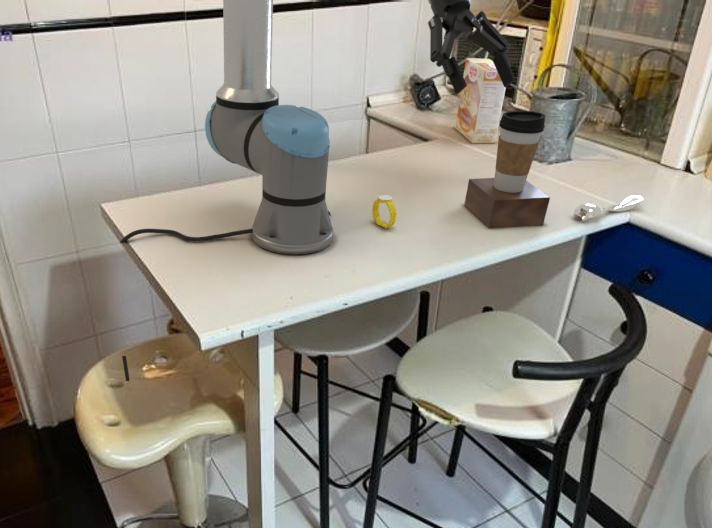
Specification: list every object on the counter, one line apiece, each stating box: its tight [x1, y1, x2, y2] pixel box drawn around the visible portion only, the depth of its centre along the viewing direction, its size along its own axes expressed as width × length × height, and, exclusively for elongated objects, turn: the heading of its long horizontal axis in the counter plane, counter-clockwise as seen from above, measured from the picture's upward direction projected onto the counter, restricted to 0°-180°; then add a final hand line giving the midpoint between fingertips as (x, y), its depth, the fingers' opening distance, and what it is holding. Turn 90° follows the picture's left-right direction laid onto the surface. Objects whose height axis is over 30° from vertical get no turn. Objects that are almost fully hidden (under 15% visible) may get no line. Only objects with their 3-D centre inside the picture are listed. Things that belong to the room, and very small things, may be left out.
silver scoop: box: [573, 195, 645, 222], centre depth 139 cm, size 20×4×5 cm
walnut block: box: [463, 177, 551, 229], centre depth 136 cm, size 12×12×6 cm
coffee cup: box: [493, 110, 546, 193], centre depth 130 cm, size 8×8×15 cm
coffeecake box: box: [454, 57, 507, 144], centre depth 181 cm, size 15×7×20 cm, turn 6°
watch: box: [371, 194, 397, 229], centre depth 129 cm, size 6×3×6 cm, turn 31°
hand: (486, 86), depth 132 cm, fingers open, 13 cm apart
